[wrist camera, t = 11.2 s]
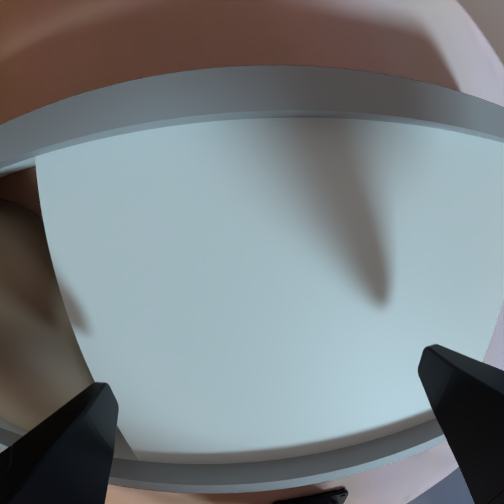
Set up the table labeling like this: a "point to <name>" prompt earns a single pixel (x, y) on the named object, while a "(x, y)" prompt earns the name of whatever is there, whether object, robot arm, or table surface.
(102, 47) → the table surface
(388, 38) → the table surface
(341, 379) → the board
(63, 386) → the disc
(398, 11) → the table surface
